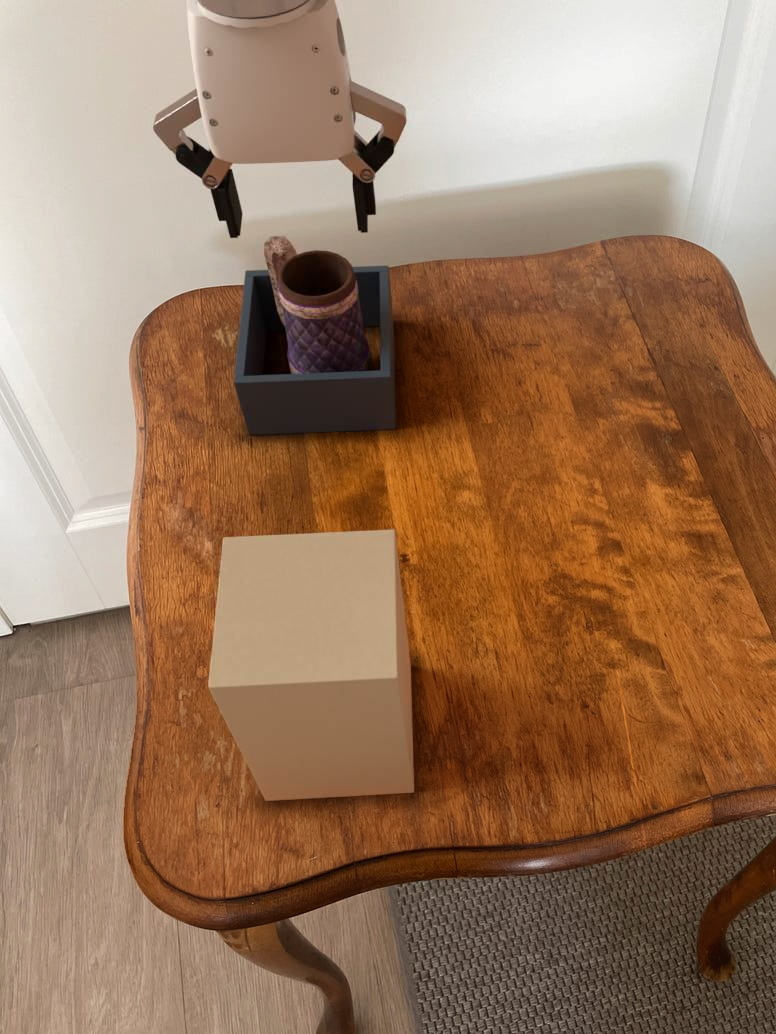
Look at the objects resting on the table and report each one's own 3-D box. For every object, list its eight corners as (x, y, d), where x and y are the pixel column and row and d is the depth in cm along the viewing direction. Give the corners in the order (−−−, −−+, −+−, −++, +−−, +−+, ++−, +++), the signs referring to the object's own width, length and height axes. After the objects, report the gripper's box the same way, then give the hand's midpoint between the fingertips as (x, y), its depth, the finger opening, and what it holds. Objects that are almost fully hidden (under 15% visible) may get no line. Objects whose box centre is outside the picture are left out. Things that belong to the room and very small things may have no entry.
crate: (248, 435, 80) (233, 382, 75) (258, 325, 87) (245, 270, 82) (395, 429, 81) (390, 376, 76) (393, 320, 88) (388, 265, 83)
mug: (389, 389, 83) (377, 274, 73) (323, 425, 81) (300, 311, 71) (325, 328, 87) (305, 210, 77) (260, 361, 85) (231, 244, 75)
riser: (265, 801, 63) (207, 687, 49) (273, 672, 68) (222, 536, 54) (414, 793, 63) (397, 677, 50) (410, 665, 68) (395, 528, 55)
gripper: (395, -63, 59) (412, 189, 74) (117, -54, 58) (190, 198, 73) (397, -3, 55) (414, 251, 70) (100, 7, 55) (181, 260, 69)
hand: (300, 224), depth 71 cm, fingers open, 9 cm apart
